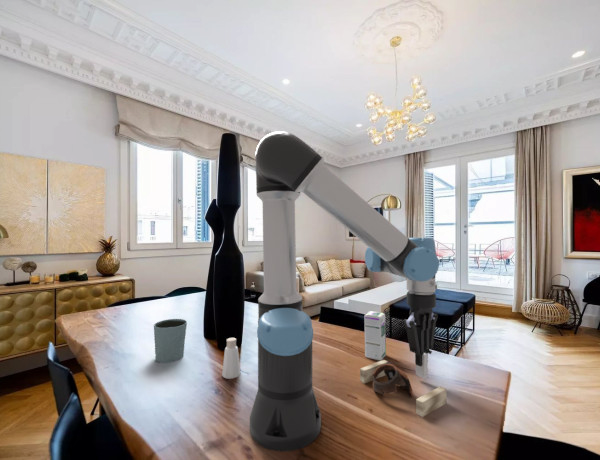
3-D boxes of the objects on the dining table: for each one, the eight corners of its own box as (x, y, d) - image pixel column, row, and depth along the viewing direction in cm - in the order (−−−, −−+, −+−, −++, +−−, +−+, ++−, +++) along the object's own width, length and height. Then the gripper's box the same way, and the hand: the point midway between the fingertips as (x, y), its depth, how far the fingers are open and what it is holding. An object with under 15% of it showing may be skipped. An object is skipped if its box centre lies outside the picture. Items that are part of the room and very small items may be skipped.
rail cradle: (422, 420, 62) (422, 402, 62) (360, 382, 78) (360, 368, 78) (446, 405, 68) (446, 388, 68) (384, 373, 84) (383, 359, 84)
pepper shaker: (220, 374, 83) (220, 337, 83) (238, 370, 85) (238, 334, 85) (223, 383, 78) (223, 343, 78) (242, 379, 80) (242, 340, 80)
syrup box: (381, 361, 91) (381, 316, 92) (364, 357, 95) (364, 314, 95) (386, 354, 96) (385, 312, 96) (369, 351, 99) (369, 310, 100)
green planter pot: (148, 359, 93) (149, 323, 94) (178, 349, 101) (179, 316, 101) (160, 368, 87) (160, 330, 87) (192, 358, 94) (192, 322, 94)
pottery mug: (420, 407, 67) (405, 379, 66) (384, 419, 69) (369, 392, 68) (409, 372, 79) (396, 348, 78) (378, 383, 81) (365, 360, 80)
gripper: (419, 297, 72) (420, 389, 71) (446, 291, 79) (447, 375, 79) (395, 292, 78) (395, 376, 78) (422, 287, 85) (423, 364, 85)
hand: (421, 375), depth 78 cm, fingers closed
